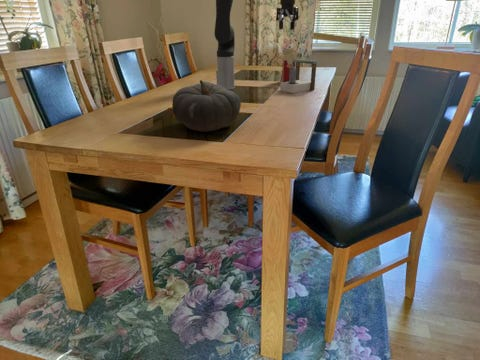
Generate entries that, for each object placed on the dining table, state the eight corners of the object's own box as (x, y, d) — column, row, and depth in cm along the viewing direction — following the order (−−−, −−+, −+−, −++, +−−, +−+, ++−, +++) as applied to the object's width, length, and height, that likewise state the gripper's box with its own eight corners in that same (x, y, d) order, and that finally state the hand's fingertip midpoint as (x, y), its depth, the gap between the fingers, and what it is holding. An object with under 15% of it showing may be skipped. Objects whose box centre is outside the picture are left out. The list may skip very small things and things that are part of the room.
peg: (296, 90, 182) (297, 67, 177) (291, 91, 180) (293, 68, 175) (292, 89, 184) (293, 67, 179) (287, 90, 183) (288, 67, 177)
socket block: (293, 93, 177) (293, 85, 175) (280, 90, 184) (280, 82, 182) (310, 89, 183) (311, 82, 182) (297, 87, 191) (297, 80, 189)
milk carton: (294, 81, 207) (296, 46, 199) (295, 84, 199) (297, 48, 190) (280, 81, 208) (281, 46, 199) (280, 84, 200) (281, 48, 191)
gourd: (207, 106, 143) (207, 65, 132) (253, 126, 131) (257, 83, 120) (161, 126, 127) (156, 82, 117) (208, 151, 115) (208, 103, 104)
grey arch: (309, 91, 180) (311, 61, 174) (291, 87, 191) (292, 59, 184) (314, 90, 182) (316, 60, 176) (296, 86, 193) (298, 58, 186)
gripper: (273, -5, 173) (272, 29, 180) (292, -7, 163) (290, 30, 170) (283, -5, 177) (282, 29, 184) (303, -7, 166) (301, 29, 174)
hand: (286, 29), depth 177 cm, fingers open, 8 cm apart
